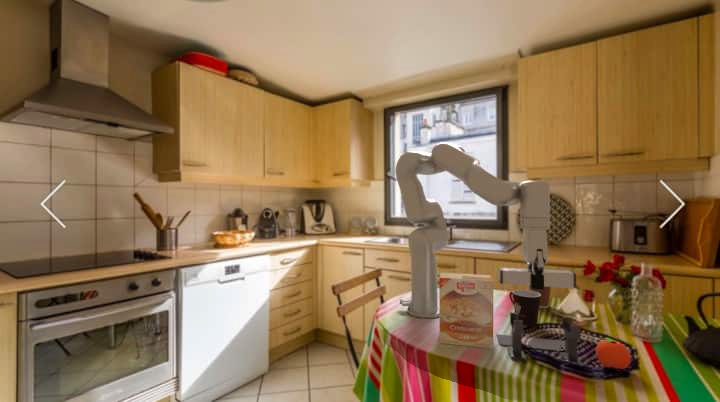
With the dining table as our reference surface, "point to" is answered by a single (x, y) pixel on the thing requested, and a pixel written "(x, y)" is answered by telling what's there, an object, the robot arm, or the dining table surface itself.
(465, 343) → the coffeecake box
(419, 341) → the dining table surface
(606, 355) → the tomato
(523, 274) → the steel rail
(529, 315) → the coffee mug
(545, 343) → the flat grey plate
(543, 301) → the coffee cup
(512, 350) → the left post
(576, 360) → the right post
